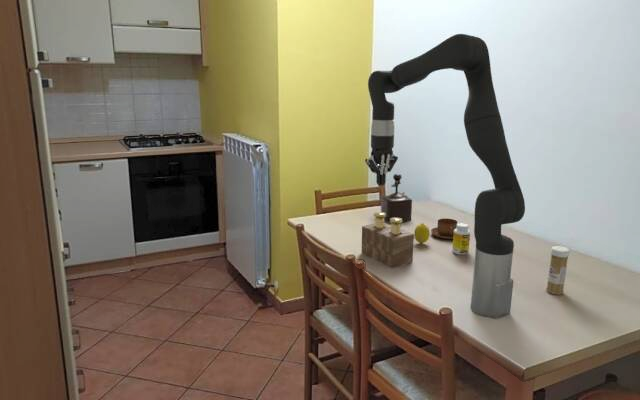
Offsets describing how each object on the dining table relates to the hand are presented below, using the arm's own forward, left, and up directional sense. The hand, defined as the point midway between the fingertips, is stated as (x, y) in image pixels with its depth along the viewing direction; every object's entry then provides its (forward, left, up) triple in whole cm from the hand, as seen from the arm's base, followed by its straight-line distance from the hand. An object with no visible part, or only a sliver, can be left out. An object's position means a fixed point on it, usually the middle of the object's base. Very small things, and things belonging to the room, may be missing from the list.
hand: (380, 184), depth 165 cm
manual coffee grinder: (+31, -36, -25) cm, 54 cm away
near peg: (-8, 0, -20) cm, 21 cm away
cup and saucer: (0, -35, -25) cm, 43 cm away
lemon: (-1, -20, -25) cm, 32 cm away
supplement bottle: (-15, -25, -25) cm, 38 cm away
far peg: (0, 0, -20) cm, 20 cm away
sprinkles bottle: (-52, -22, -25) cm, 62 cm away
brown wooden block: (-4, 0, -25) cm, 25 cm away
